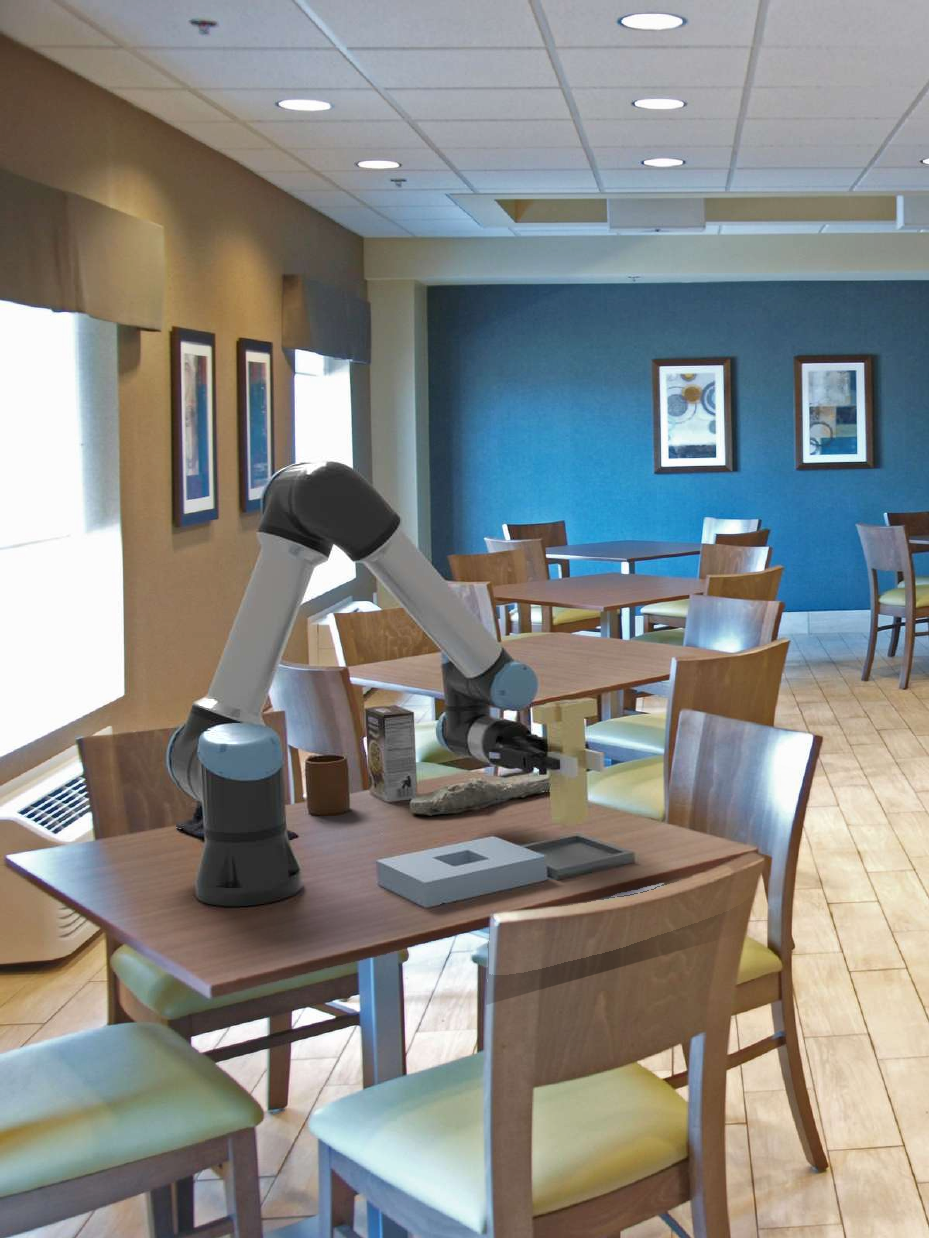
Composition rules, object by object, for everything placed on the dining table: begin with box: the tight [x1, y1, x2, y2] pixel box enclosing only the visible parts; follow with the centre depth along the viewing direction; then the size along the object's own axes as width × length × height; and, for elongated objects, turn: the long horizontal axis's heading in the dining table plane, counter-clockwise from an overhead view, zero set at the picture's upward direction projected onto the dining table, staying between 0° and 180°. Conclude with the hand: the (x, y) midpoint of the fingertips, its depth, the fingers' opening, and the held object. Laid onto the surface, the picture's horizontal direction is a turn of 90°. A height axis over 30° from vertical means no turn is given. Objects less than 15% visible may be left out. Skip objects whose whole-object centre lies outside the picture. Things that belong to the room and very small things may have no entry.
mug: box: [304, 754, 351, 816], centre depth 244 cm, size 12×8×9 cm, turn 28°
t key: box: [531, 697, 598, 828], centre depth 204 cm, size 10×4×18 cm, turn 121°
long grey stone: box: [409, 770, 550, 816], centre depth 246 cm, size 35×5×10 cm
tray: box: [520, 833, 636, 881], centre depth 205 cm, size 14×14×2 cm
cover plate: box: [375, 835, 548, 909], centre depth 197 cm, size 20×14×4 cm
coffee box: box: [364, 704, 418, 803], centre depth 251 cm, size 9×6×16 cm
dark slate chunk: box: [175, 800, 300, 840], centre depth 231 cm, size 15×22×5 cm
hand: (588, 765), depth 199 cm, fingers closed on t key, 4 cm apart
